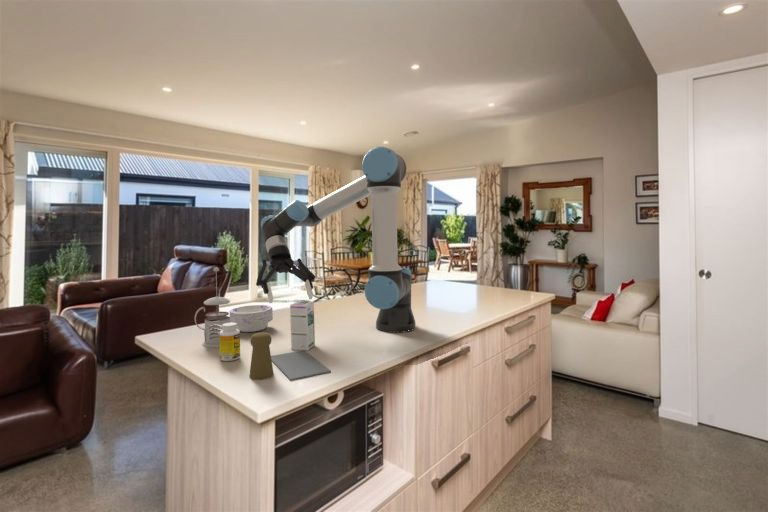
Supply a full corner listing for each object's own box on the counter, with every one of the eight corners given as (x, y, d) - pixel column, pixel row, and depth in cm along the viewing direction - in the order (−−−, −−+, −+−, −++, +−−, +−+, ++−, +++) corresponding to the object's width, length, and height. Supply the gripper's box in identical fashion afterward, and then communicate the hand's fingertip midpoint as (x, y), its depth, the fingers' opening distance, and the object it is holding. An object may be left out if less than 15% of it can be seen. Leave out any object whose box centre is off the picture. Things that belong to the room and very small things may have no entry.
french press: (236, 344, 126) (234, 268, 125) (196, 350, 121) (194, 269, 119) (231, 337, 135) (229, 265, 133) (194, 341, 129) (192, 266, 127)
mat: (268, 357, 114) (268, 356, 114) (304, 351, 120) (304, 350, 120) (290, 380, 97) (290, 379, 97) (330, 372, 103) (330, 370, 103)
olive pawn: (244, 378, 98) (243, 336, 97) (256, 370, 104) (255, 329, 103) (267, 380, 97) (266, 337, 96) (277, 371, 103) (276, 330, 102)
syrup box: (308, 350, 120) (307, 304, 119) (290, 349, 122) (289, 303, 120) (315, 345, 126) (314, 301, 125) (298, 344, 127) (297, 300, 126)
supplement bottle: (236, 362, 110) (235, 326, 109) (216, 361, 110) (215, 326, 109) (243, 355, 116) (242, 321, 115) (224, 355, 116) (223, 321, 115)
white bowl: (223, 328, 146) (223, 307, 146) (262, 322, 156) (261, 302, 156) (239, 337, 135) (239, 314, 134) (280, 329, 145) (279, 308, 144)
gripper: (308, 256, 150) (323, 301, 138) (241, 259, 137) (251, 309, 125) (313, 243, 145) (329, 289, 133) (243, 244, 132) (255, 295, 120)
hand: (291, 299), depth 129 cm, fingers open, 13 cm apart
